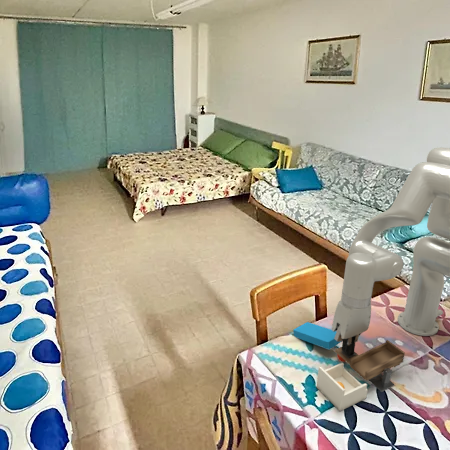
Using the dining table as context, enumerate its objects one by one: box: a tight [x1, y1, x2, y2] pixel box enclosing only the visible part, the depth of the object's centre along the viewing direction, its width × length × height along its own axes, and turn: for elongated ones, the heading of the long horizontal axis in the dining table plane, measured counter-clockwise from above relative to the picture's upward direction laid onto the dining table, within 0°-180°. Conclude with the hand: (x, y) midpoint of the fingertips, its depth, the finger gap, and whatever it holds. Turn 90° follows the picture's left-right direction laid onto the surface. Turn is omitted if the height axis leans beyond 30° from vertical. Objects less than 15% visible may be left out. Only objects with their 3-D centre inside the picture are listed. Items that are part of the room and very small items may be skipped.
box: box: [316, 362, 369, 412], centre depth 106 cm, size 9×9×7 cm
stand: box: [367, 368, 396, 393], centre depth 112 cm, size 5×10×6 cm, turn 28°
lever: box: [292, 321, 347, 363], centre depth 124 cm, size 7×7×18 cm
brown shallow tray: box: [334, 339, 406, 382], centre depth 113 cm, size 14×12×5 cm
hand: (347, 352), depth 114 cm, fingers closed
